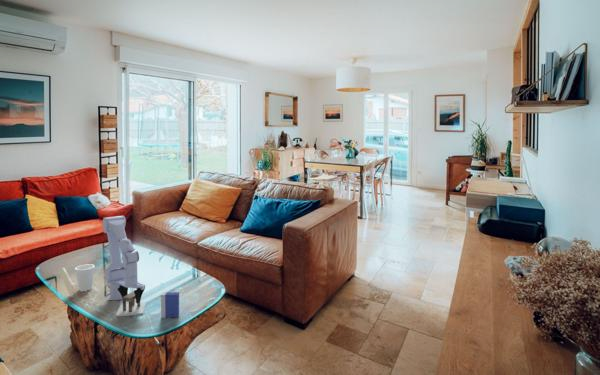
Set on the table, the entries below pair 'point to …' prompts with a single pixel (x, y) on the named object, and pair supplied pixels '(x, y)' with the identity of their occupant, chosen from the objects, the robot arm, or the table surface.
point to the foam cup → (85, 276)
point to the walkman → (169, 304)
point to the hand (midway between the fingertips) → (131, 301)
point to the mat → (135, 309)
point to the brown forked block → (130, 299)
